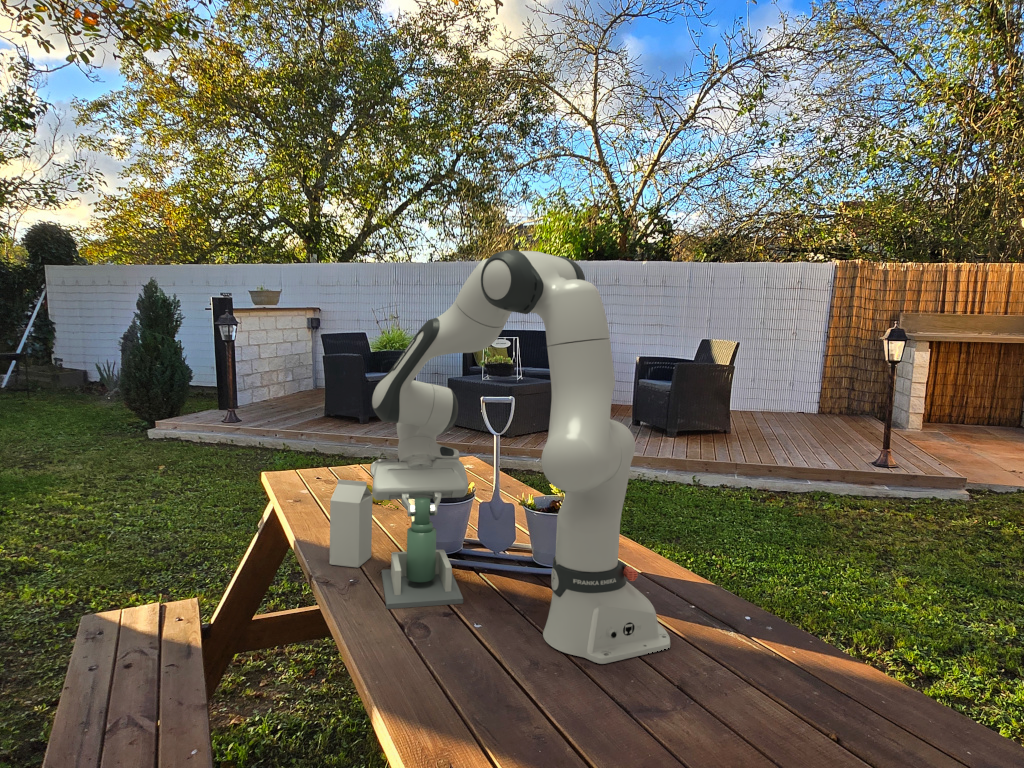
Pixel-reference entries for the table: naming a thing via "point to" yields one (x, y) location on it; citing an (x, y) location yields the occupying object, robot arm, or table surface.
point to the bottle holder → (419, 584)
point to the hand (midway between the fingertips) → (422, 514)
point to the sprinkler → (380, 500)
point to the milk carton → (350, 524)
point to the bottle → (421, 544)
